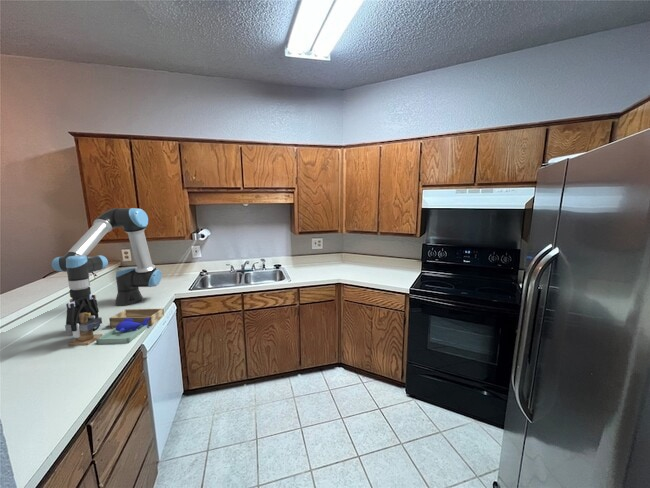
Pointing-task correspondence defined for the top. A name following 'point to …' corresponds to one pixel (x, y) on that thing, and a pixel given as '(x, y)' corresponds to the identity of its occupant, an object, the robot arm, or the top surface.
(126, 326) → the fish toy
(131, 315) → the crate
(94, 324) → the gray rectangular frame
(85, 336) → the handle
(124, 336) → the tray
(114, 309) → the top surface
